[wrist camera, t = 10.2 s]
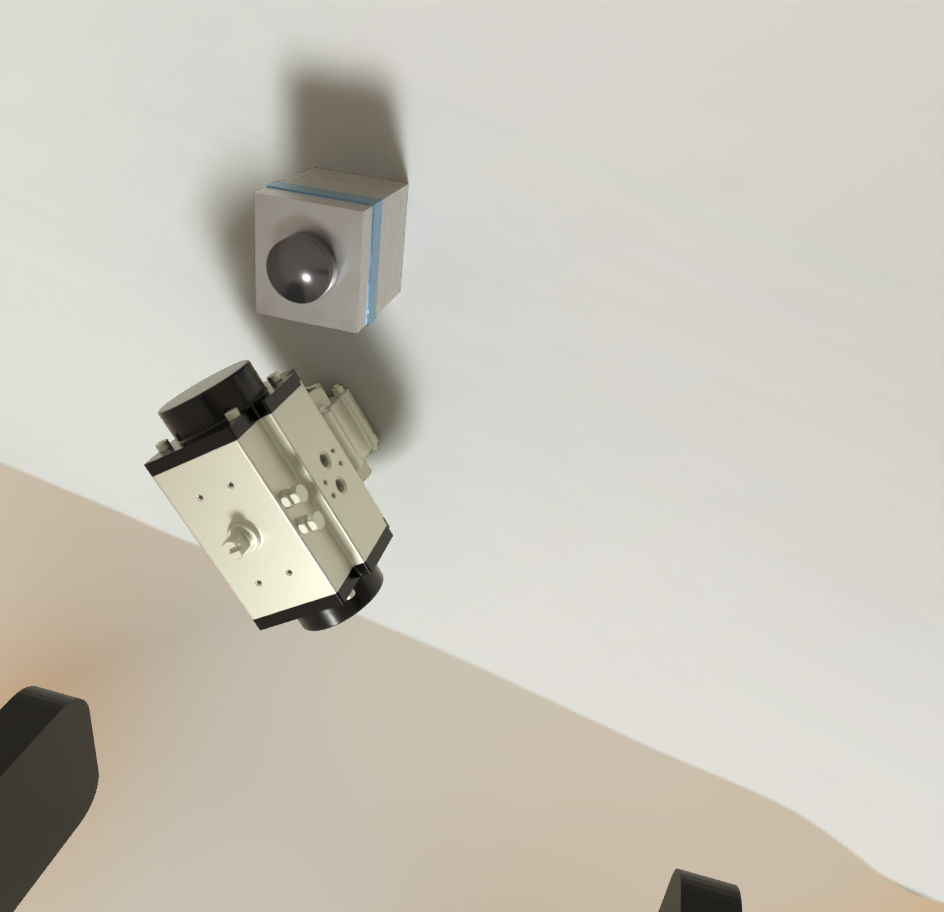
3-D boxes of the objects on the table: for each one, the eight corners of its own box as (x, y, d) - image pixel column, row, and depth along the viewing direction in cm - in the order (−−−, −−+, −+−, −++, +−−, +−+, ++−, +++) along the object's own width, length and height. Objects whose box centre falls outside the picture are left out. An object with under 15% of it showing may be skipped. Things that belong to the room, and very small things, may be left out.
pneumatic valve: (359, 526, 47) (265, 672, 37) (246, 343, 43) (105, 448, 33) (443, 496, 45) (368, 642, 34) (331, 300, 41) (209, 399, 31)
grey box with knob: (409, 182, 37) (355, 216, 31) (401, 292, 40) (349, 342, 34) (313, 166, 38) (241, 196, 32) (310, 275, 41) (243, 321, 35)
